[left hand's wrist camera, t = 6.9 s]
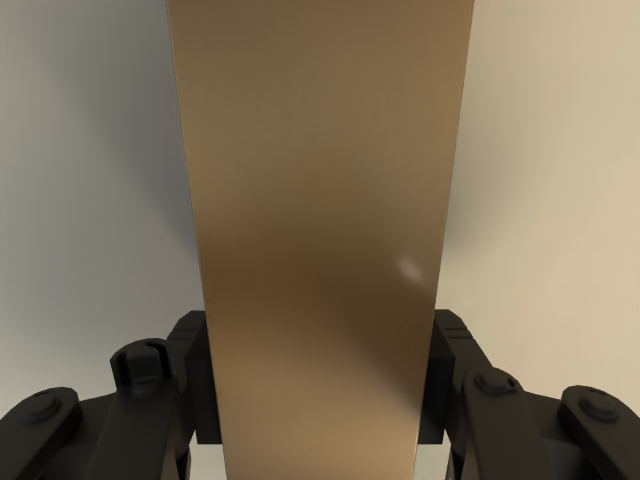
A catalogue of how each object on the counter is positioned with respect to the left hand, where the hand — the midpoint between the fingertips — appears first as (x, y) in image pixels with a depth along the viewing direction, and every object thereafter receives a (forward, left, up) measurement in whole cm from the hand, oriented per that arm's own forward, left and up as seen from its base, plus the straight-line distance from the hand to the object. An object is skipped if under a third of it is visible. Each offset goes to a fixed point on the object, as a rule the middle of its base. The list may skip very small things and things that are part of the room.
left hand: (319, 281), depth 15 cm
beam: (+21, -10, -1) cm, 23 cm away
